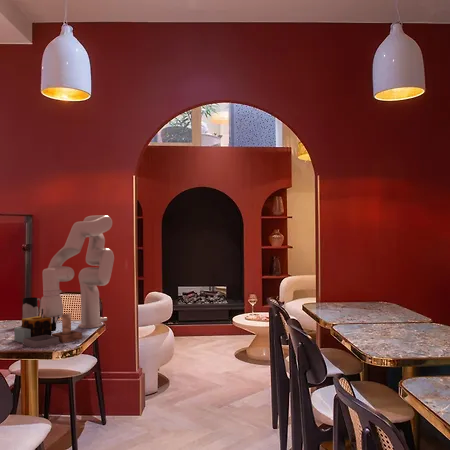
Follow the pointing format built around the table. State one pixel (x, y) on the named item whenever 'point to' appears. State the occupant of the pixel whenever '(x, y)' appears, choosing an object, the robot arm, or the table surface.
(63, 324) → the dowel
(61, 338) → the socket block
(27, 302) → the glass holder
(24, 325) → the candle
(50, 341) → the tray
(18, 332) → the block
